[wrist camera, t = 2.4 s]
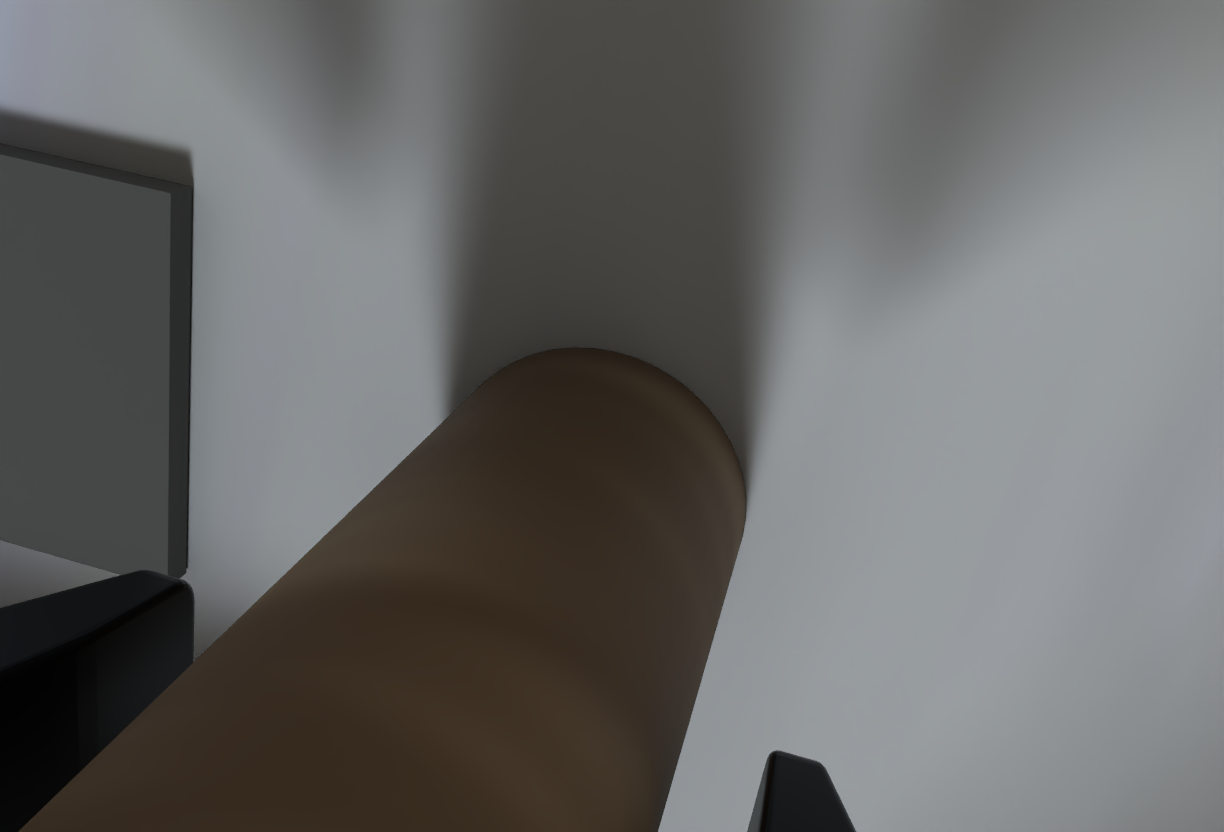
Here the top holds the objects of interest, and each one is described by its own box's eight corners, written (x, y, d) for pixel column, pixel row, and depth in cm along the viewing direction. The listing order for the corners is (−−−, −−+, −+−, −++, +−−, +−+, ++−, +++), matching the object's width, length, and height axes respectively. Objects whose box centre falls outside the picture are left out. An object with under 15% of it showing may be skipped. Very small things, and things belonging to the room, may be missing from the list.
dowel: (777, 390, 12) (359, 1754, 3) (711, 665, 13) (288, 2184, 4) (461, 315, 12) (-763, 1246, 3) (430, 588, 14) (-492, 1775, 5)
